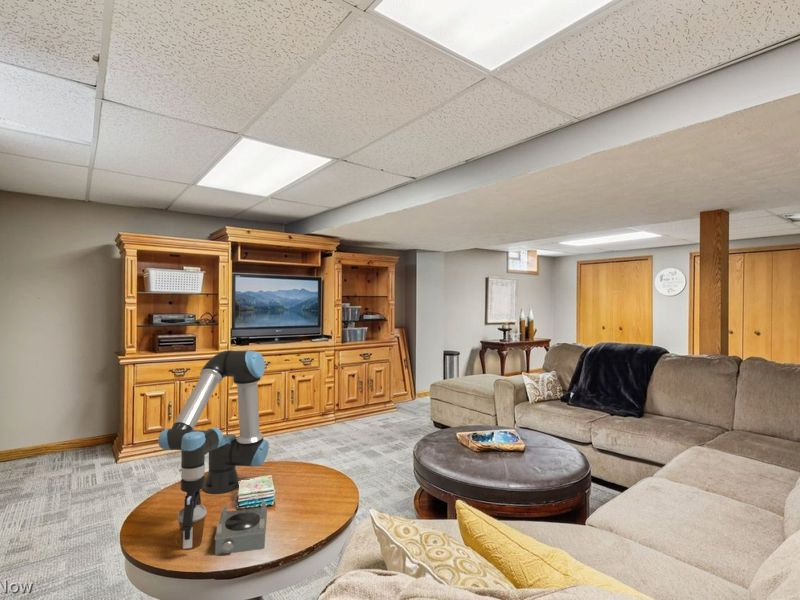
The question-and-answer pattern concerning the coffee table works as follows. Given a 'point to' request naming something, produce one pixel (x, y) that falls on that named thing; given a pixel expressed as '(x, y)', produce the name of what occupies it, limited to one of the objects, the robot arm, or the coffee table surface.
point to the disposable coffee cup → (194, 525)
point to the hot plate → (241, 530)
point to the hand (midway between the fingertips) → (191, 537)
